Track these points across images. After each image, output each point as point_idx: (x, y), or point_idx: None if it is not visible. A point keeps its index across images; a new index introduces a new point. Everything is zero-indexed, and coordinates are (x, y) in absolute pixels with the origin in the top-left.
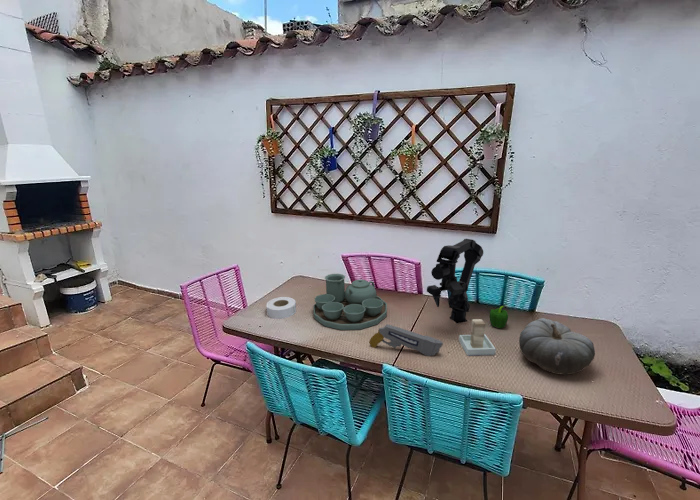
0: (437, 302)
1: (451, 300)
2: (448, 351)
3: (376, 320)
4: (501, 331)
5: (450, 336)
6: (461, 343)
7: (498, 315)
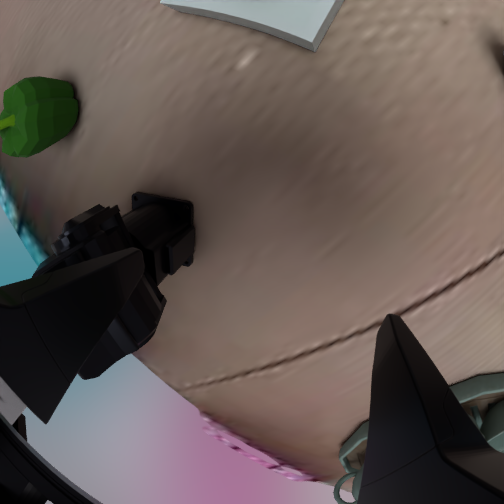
0: (439, 373)
1: (134, 323)
2: (440, 25)
3: (486, 388)
4: (78, 66)
5: (325, 114)
6: (335, 11)
7: (23, 92)
